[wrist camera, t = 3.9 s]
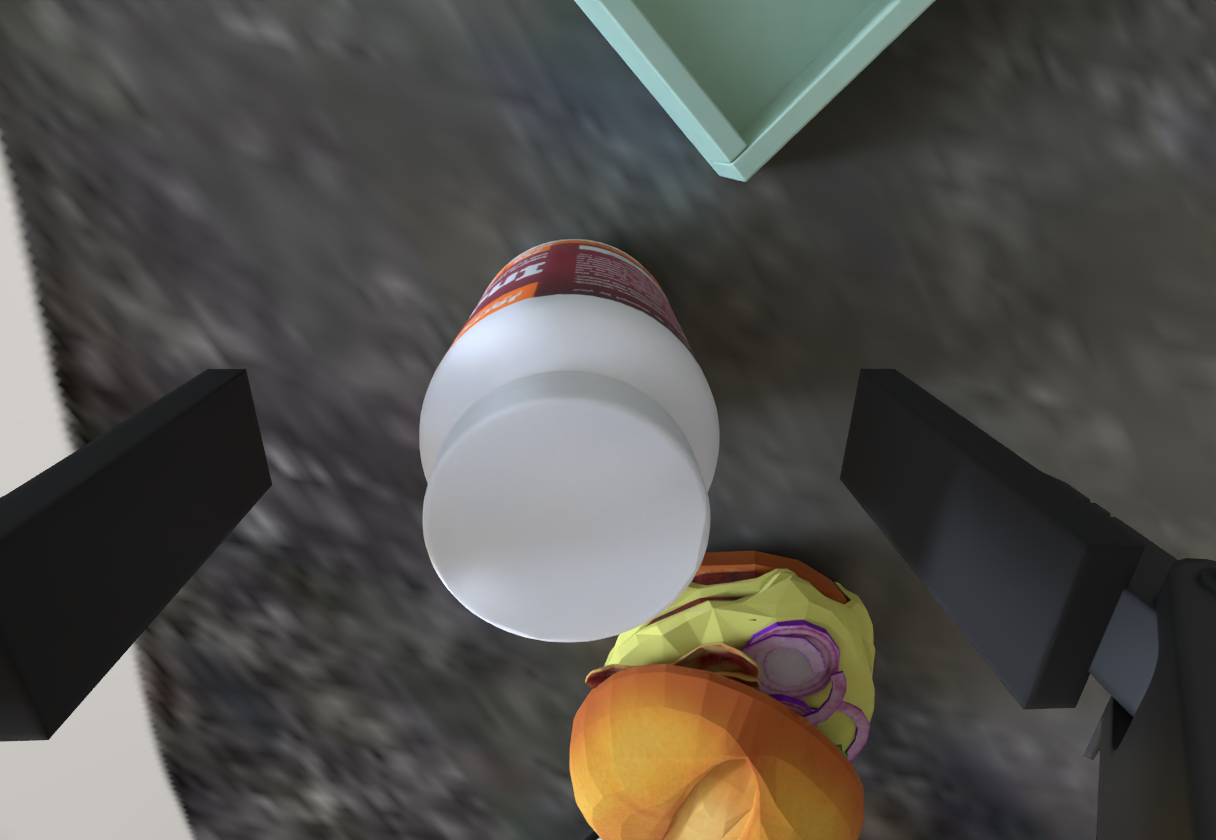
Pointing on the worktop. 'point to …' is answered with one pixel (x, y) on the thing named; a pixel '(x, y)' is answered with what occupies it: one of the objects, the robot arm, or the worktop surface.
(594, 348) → the pill bottle
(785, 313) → the worktop surface
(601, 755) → the cheeseburger
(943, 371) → the worktop surface
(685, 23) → the tray
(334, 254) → the worktop surface
